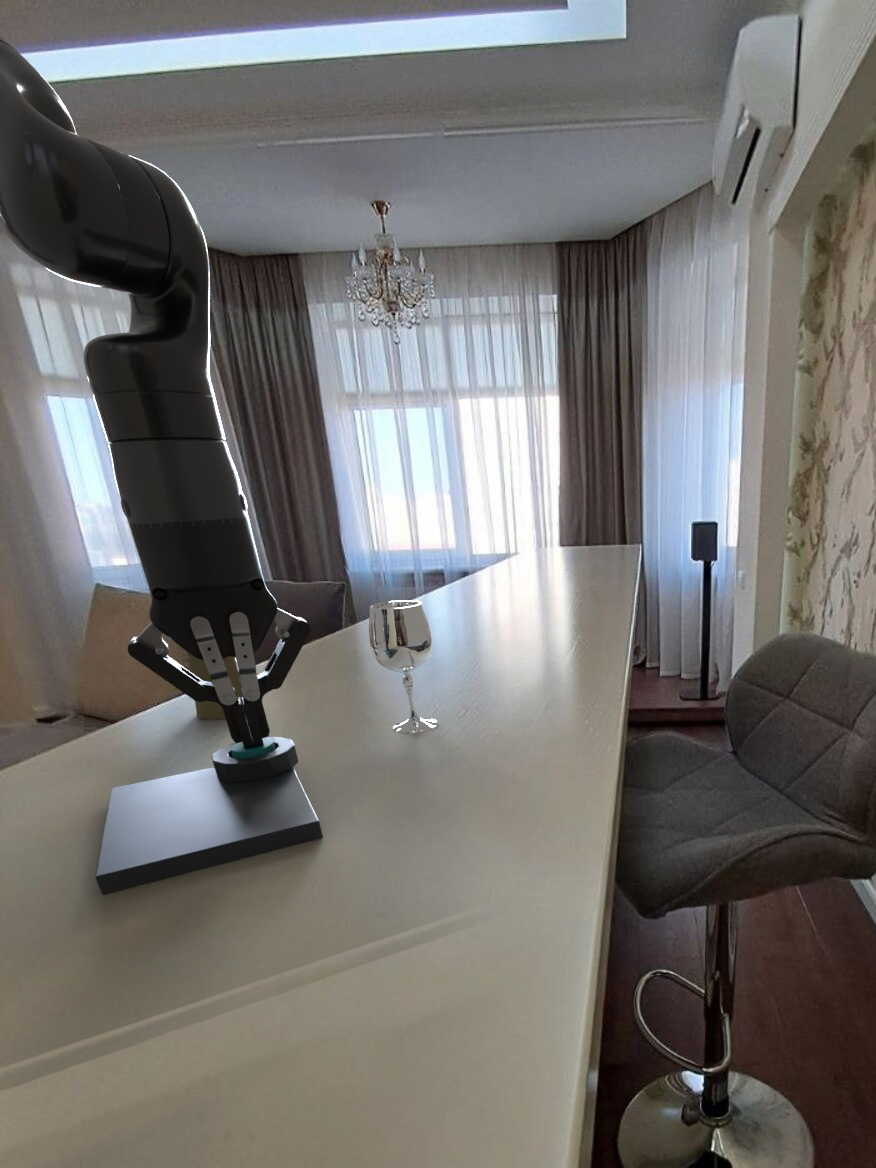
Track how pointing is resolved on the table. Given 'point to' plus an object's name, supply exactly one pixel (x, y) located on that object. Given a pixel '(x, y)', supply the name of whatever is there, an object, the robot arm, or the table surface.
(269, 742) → the button
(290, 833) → the scale
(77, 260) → the robot arm
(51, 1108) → the table surface
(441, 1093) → the table surface
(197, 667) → the cork
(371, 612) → the wineglass
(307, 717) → the table surface
